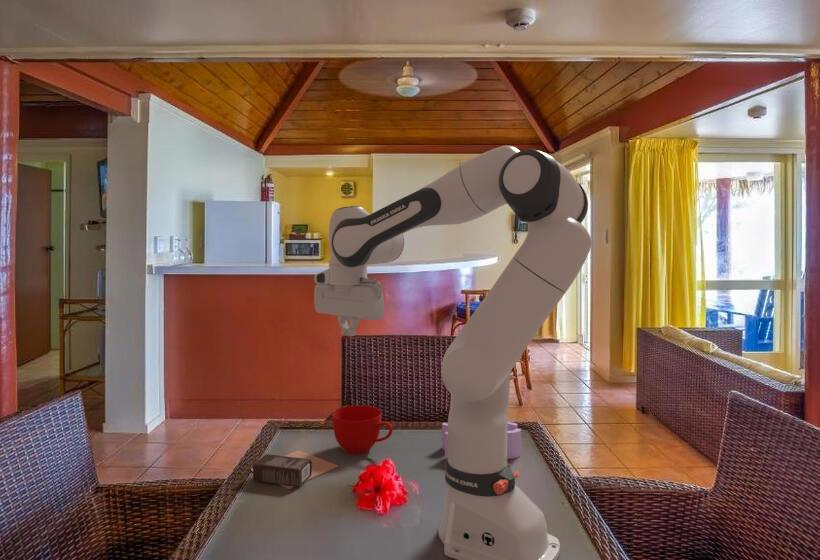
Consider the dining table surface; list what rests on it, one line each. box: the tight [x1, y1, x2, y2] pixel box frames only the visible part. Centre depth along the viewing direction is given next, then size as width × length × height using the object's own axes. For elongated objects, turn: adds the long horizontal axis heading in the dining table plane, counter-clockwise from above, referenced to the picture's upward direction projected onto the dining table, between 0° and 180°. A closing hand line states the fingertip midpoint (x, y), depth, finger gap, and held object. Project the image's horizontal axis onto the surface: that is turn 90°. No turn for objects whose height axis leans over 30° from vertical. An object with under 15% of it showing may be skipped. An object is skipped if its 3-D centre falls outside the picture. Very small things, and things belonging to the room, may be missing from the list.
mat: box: [250, 450, 339, 490], centre depth 129 cm, size 15×15×1 cm
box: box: [252, 453, 312, 488], centre depth 123 cm, size 6×4×12 cm
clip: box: [441, 421, 522, 460], centre depth 139 cm, size 20×12×7 cm, turn 93°
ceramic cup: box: [331, 404, 394, 455], centre depth 139 cm, size 13×17×10 cm
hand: (348, 335), depth 125 cm, fingers closed
